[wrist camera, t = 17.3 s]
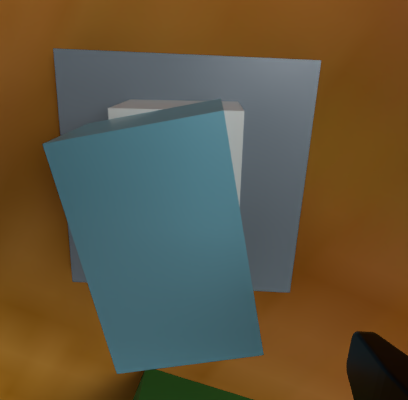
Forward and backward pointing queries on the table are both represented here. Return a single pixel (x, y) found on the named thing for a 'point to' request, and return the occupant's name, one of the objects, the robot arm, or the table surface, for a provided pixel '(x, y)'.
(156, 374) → the green cereal box
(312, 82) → the baseplate
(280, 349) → the table surface
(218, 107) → the teal brick
